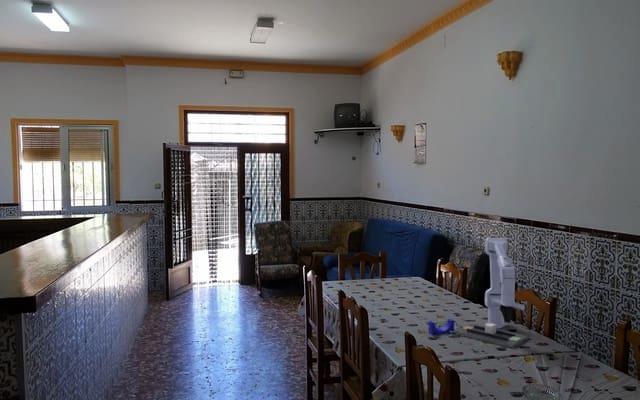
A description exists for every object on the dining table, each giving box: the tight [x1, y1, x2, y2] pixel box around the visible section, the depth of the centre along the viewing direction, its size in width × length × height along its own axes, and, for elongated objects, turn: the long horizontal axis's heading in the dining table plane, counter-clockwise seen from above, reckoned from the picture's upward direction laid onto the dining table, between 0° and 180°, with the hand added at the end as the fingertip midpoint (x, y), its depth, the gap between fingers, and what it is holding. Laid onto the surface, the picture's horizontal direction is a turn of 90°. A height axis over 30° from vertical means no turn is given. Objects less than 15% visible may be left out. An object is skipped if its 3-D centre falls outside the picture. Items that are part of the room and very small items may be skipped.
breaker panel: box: [454, 323, 529, 349], centre depth 233 cm, size 16×28×2 cm, turn 46°
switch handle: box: [484, 323, 497, 334], centre depth 233 cm, size 5×3×4 cm, turn 136°
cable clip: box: [428, 318, 455, 336], centre depth 240 cm, size 12×4×6 cm, turn 107°
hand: (507, 322), depth 227 cm, fingers closed
